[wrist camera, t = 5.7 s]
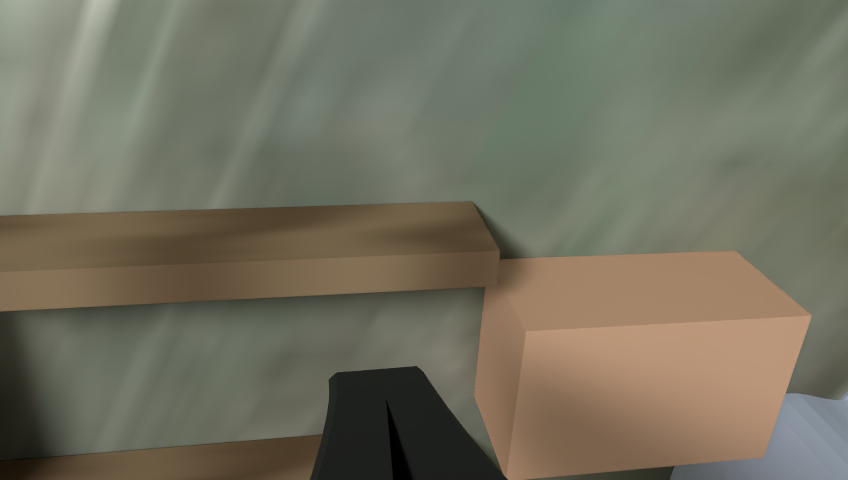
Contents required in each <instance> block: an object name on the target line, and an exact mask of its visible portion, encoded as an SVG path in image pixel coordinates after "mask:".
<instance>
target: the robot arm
mask: <svg viewBox="0 0 848 480" xmlns="http://www.w3.org/2000/svg"><path fill="white" fill-rule="evenodd" d="M310 480H508V479H507V478H506V477H505V476H504V475H503V473H502V472H501V471H500V470H499V469H498V468H497V467H496V466H495V465H494V463H493V462H492V461H491V460H490V459H489V458H488V456H487V455H486V454H485V453H484V452H483V451H482V449H481V448H480V447H479V446H478V445H477V443H476V442H475V441H474V440H473V439H472V438H471V436H470V435H469V434H468V433H467V431H466V430H465V429H464V428H463V426H462V425H461V424H460V423H459V421H458V420H457V419H456V417H455V416H454V415H453V413H452V412H451V411H450V410H449V408H448V407H447V406H446V404H445V403H444V401H443V400H442V399H441V397H440V396H439V394H438V393H437V392H436V390H435V389H434V387H433V386H432V384H431V383H430V381H429V380H428V378H427V377H426V375H425V374H424V372H423V371H422V370H420V369H419V368H418V367H417V366H413V367H401V368H388V369H376V370H363V371H351V372H338V373H336V374H334V375H333V376H332V377H331V378H330V379H329V404H328V411H327V417H326V422H325V426H324V431H323V436H322V439H321V443H320V446H319V450H318V453H317V457H316V460H315V464H314V467H313V471H312V474H311V477H310ZM670 480H848V395H847V396H846V397H845V398H844V399H843V400H842V401H839V400H828V399H823V398H819V397H814V396H809V395H804V394H798V393H795V394H785V396H784V399H783V402H782V405H781V408H780V411H779V414H778V417H777V420H776V423H775V426H774V429H773V432H772V435H771V438H770V441H769V444H768V446H767V449H766V452H765V455H764V458H753V459H743V460H732V461H721V462H710V463H699V464H689V465H678V466H674V469H673V472H672V474H671V477H670Z"/></svg>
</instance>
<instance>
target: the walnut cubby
mask: <svg viewBox="0 0 848 480" xmlns="http://www.w3.org/2000/svg"><path fill="white" fill-rule="evenodd" d="M499 256H500V250H499V248H498V246H497V245H496V243H495V241H494V239H493V237H492V236H491V234H490V232H489V230H488V229H487V227H486V225H485V223H484V221H483V220H482V218H481V216H480V214H479V213H478V211H477V209H476V207H475V205H474V204H473V202H442V203H409V204H376V205H344V206H311V207H278V208H245V209H212V210H179V211H146V212H113V213H80V214H48V215H15V216H0V311H17V310H37V309H57V308H76V307H96V306H116V305H136V304H155V303H175V302H195V301H214V300H234V299H254V298H273V297H293V296H313V295H332V294H352V293H372V292H392V291H411V290H431V289H451V288H470V287H490V286H497V276H498V266H499ZM322 436H323V435H314V436H302V437H290V438H278V439H266V440H254V441H242V442H230V443H218V444H206V445H194V446H182V447H169V448H157V449H145V450H133V451H121V452H109V453H97V454H85V455H73V456H61V457H49V458H37V459H25V460H13V461H0V480H310V477H311V474H312V471H313V467H314V464H315V460H316V457H317V453H318V450H319V446H320V443H321V439H322Z"/></svg>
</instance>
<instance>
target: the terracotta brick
mask: <svg viewBox="0 0 848 480" xmlns="http://www.w3.org/2000/svg"><path fill="white" fill-rule="evenodd" d="M811 317H812V315H810V314H809V313H808V312H807V311H806V310H805V309H803V308H802V307H801V306H800V305H799V304H797V303H796V302H795V301H794V300H793V299H792V298H790V297H789V296H788V295H787V294H786V293H784V292H783V291H782V290H781V289H780V288H779V287H777V286H776V285H775V284H774V283H773V282H771V281H770V280H769V279H768V278H767V277H766V276H764V275H763V274H762V273H761V272H760V271H758V270H757V269H756V268H755V267H754V266H752V265H751V264H750V263H749V262H748V261H747V260H745V259H744V258H743V257H742V256H741V255H739V254H738V253H737V252H736V251H720V252H692V253H663V254H635V255H606V256H578V257H549V258H520V259H499V266H498V276H497V286H490V287H485V295H484V304H483V314H482V324H481V333H480V343H479V353H478V362H477V372H476V381H475V391H474V396H475V399H476V402H477V405H478V407H479V410H480V413H481V415H482V418H483V421H484V424H485V426H486V429H487V432H488V435H489V437H490V440H491V443H492V445H493V448H494V451H495V454H496V456H497V459H498V462H499V465H500V467H501V470H502V473H503V475H504V476H505V477H506V478H507V479H508V480H526V479H537V478H548V477H559V476H570V475H580V474H591V473H602V472H613V471H624V470H634V469H645V468H656V467H667V466H678V465H689V464H699V463H710V462H721V461H732V460H743V459H753V458H764V455H765V452H766V449H767V446H768V444H769V441H770V438H771V435H772V432H773V429H774V426H775V423H776V420H777V417H778V414H779V411H780V408H781V405H782V402H783V399H784V396H785V393H786V390H787V387H788V385H789V382H790V379H791V376H792V373H793V370H794V367H795V364H796V361H797V358H798V355H799V352H800V349H801V346H802V343H803V340H804V337H805V334H806V331H807V328H808V325H809V323H810V320H811Z"/></svg>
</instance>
